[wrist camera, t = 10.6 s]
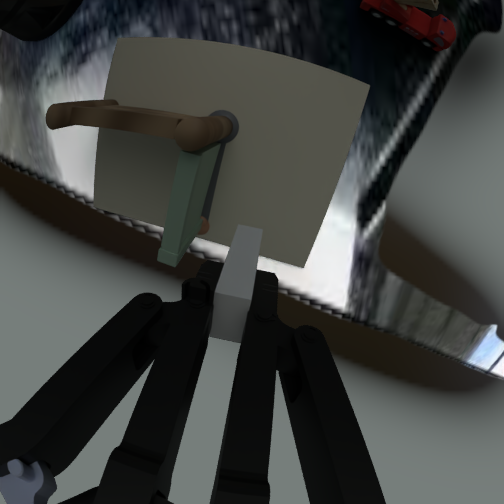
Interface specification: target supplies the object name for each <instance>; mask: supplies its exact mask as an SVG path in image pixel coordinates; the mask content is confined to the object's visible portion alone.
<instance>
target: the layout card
mask: <svg viewBox="0 0 504 504" xmlns="http://www.w3.org/2000/svg"><path fill="white" fill-rule="evenodd" d="M369 88H370V85H368V84H366V83H363V82H361V81H359V80H356V79H354V78H351V77H349V76H346V75H343V74H341V73H338V72H335V71H333V70H330V69H327V68H324V67H321V66H318V65H315V64H312V63H309V62H305V61H302V60H299V59H295V58H292V57H288V56H284V55H280V54H276V53H272V52H268V51H264V50H259V49H254V48H249V47H244V46H238V45H233V44H226V43H219V42H212V41H203V40H194V39H181V38H161V37H130V38H118V40H117V44H116V47H115V51H114V54H113V58H112V62H111V66H110V71H109V75H108V80H107V84H106V89H105V95H104V100H108V99H114V100H116V101H117V102H118V104H119V105H121V106H130V107H139V108H147V109H155V110H161V111H168V112H174V113H180V114H186V115H191V116H197V117H206V116H226V117H228V118H229V119H230V120H231V121H232V124H233V130H232V132H231V134H230V135H229V136H227V137H225V138H223V139H221V140H218V141H216V142H217V143H220V144H221V145H220V149H219V152H218V155H217V159H216V162H215V166H214V169H213V173H212V176H211V180H210V183H209V187H208V191H207V194H206V198H205V202H204V206H203V209H202V213H201V217H200V219H203V223H202V226H201V229H200V231H199V232H198V234H197V235H196V237H198V238H202V239H205V240H208V241H212V242H215V243H219V244H222V245H226V246H229V247H230V246H231V243H232V241H233V238H234V235H235V232H236V229H237V227H238V224H240V225H245V226H250V227H254V228H259V229H263V232H262V238H261V244H260V251H259V255H260V256H264V257H267V258H271V259H274V260H278V261H281V262H284V263H288V264H291V265H295V266H298V267H302V268H304V266H305V263H306V261H307V259H308V256H309V254H310V251H311V249H312V247H313V244H314V242H315V239H316V237H317V234H318V232H319V229H320V227H321V224H322V222H323V219H324V217H325V214H326V212H327V209H328V207H329V204H330V201H331V199H332V196H333V193H334V191H335V188H336V185H337V183H338V180H339V177H340V175H341V172H342V169H343V166H344V164H345V161H346V158H347V155H348V152H349V149H350V146H351V144H352V141H353V138H354V135H355V132H356V129H357V126H358V123H359V120H360V117H361V114H362V110H363V107H364V104H365V101H366V98H367V94H368V91H369ZM181 150H183V149H181V148H180V147H179V146H178V145H177V143H176V141H175V139H169V138H164V137H159V136H153V135H147V134H142V133H135V132H129V131H122V130H115V129H108V128H100V127H99V133H98V142H97V152H96V164H95V179H94V207H95V208H98V209H102V210H105V211H109V212H112V213H116V214H119V215H122V216H126V217H129V218H133V219H136V220H140V221H143V222H146V223H150V224H153V225H157V226H160V227H164V226H165V221H166V216H167V210H168V205H169V200H170V195H171V190H172V186H173V181H174V177H175V172H176V168H177V164H178V159H179V155H180V151H181Z"/></svg>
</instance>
